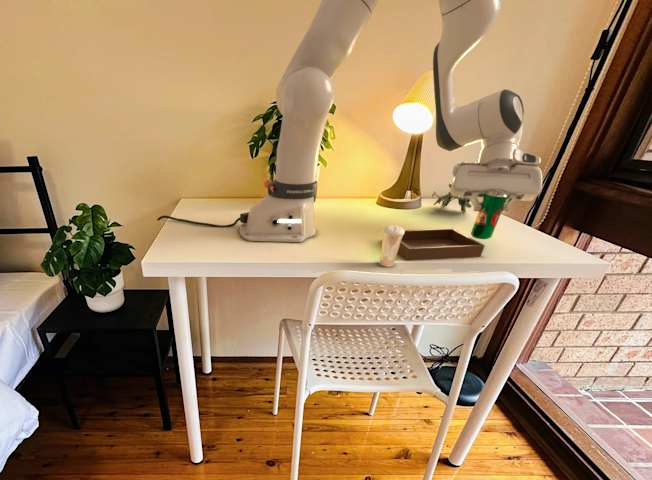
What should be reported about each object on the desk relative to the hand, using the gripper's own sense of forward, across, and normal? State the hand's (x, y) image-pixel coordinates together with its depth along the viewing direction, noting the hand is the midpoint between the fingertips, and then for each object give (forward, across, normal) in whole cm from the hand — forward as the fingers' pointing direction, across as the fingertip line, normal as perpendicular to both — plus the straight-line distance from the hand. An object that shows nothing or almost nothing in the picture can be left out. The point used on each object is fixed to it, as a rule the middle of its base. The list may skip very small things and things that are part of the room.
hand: (490, 211), depth 96 cm
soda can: (+5, 0, +6) cm, 7 cm away
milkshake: (+23, -24, -11) cm, 35 cm away
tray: (+12, -13, 0) cm, 18 cm away
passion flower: (-16, -4, +28) cm, 32 cm away
